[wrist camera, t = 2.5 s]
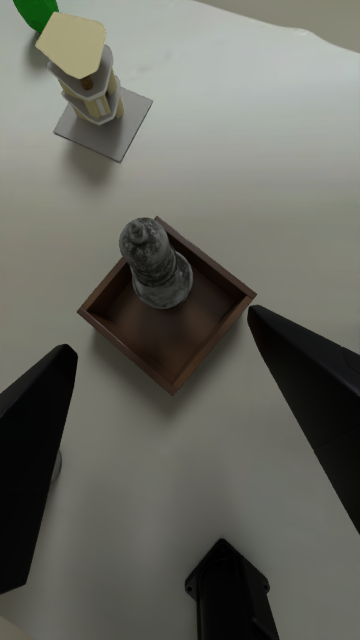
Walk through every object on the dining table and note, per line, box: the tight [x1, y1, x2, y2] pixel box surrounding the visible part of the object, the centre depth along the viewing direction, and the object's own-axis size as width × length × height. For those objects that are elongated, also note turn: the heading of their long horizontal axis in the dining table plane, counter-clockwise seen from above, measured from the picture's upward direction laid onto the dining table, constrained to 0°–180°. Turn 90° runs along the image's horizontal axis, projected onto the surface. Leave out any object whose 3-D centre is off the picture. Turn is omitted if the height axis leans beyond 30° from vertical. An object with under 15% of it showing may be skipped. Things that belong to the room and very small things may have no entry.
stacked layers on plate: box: [35, 12, 153, 162], centre depth 19 cm, size 10×9×6 cm
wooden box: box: [77, 216, 257, 396], centre depth 18 cm, size 12×12×4 cm
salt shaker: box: [119, 218, 193, 310], centre depth 14 cm, size 6×6×12 cm
